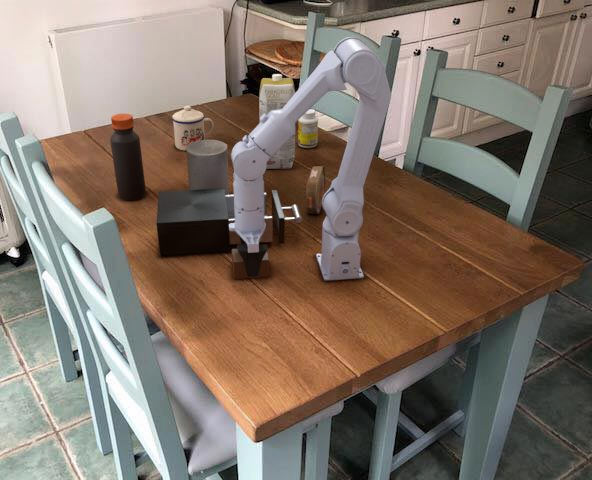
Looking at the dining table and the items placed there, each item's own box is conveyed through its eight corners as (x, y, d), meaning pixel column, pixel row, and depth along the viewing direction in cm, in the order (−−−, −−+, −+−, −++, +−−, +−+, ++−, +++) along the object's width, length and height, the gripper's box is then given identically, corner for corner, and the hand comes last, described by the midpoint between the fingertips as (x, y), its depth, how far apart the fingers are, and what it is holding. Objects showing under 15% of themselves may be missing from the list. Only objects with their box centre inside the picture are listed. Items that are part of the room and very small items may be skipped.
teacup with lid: (181, 153, 178) (177, 113, 172) (170, 143, 185) (166, 104, 179) (220, 146, 183) (218, 107, 177) (208, 136, 190) (206, 98, 184)
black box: (226, 219, 146) (224, 187, 141) (230, 252, 133) (228, 218, 129) (162, 223, 144) (158, 191, 140) (160, 257, 132) (156, 223, 128)
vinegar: (119, 202, 153) (107, 123, 142) (117, 190, 159) (106, 113, 148) (147, 199, 155) (138, 120, 144) (144, 187, 160) (135, 110, 149)
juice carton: (293, 158, 176) (294, 71, 163) (295, 170, 169) (296, 80, 156) (259, 158, 175) (258, 72, 162) (260, 170, 169) (259, 81, 156)
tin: (317, 220, 145) (318, 187, 141) (303, 219, 146) (304, 186, 141) (325, 192, 158) (327, 160, 153) (313, 190, 158) (314, 159, 154)
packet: (269, 276, 126) (269, 259, 123) (234, 279, 125) (233, 261, 123) (266, 263, 130) (266, 246, 128) (232, 265, 129) (231, 248, 127)
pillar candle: (184, 195, 156) (179, 138, 148) (220, 187, 160) (217, 131, 152) (198, 212, 149) (194, 152, 141) (236, 203, 153) (234, 144, 144)
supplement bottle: (301, 140, 186) (302, 106, 181) (319, 142, 185) (320, 108, 179) (295, 147, 182) (296, 112, 176) (313, 149, 180) (315, 115, 175)
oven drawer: (294, 213, 146) (295, 188, 143) (304, 242, 135) (305, 216, 132) (218, 217, 145) (216, 193, 141) (221, 248, 133) (219, 221, 130)
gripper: (225, 188, 125) (228, 247, 132) (230, 224, 113) (233, 286, 120) (261, 186, 126) (262, 245, 133) (269, 221, 113) (270, 283, 121)
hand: (250, 264), depth 127 cm, fingers open, 7 cm apart
